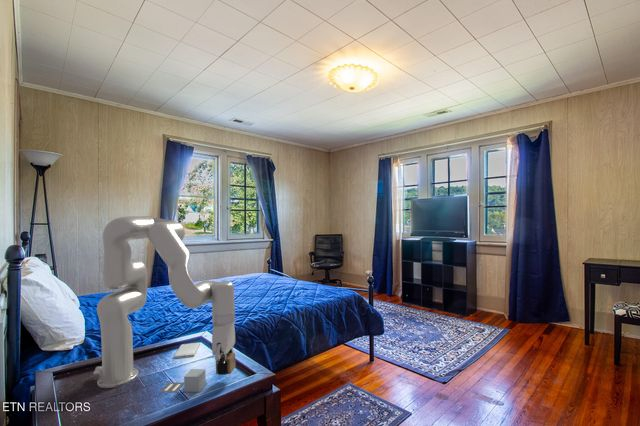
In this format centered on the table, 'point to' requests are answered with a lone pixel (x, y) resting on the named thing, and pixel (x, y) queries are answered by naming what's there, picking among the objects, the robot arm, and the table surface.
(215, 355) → the robot arm
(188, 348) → the hard drive
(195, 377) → the light grey cube
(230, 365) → the walnut block
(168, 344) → the table surface
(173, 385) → the board
